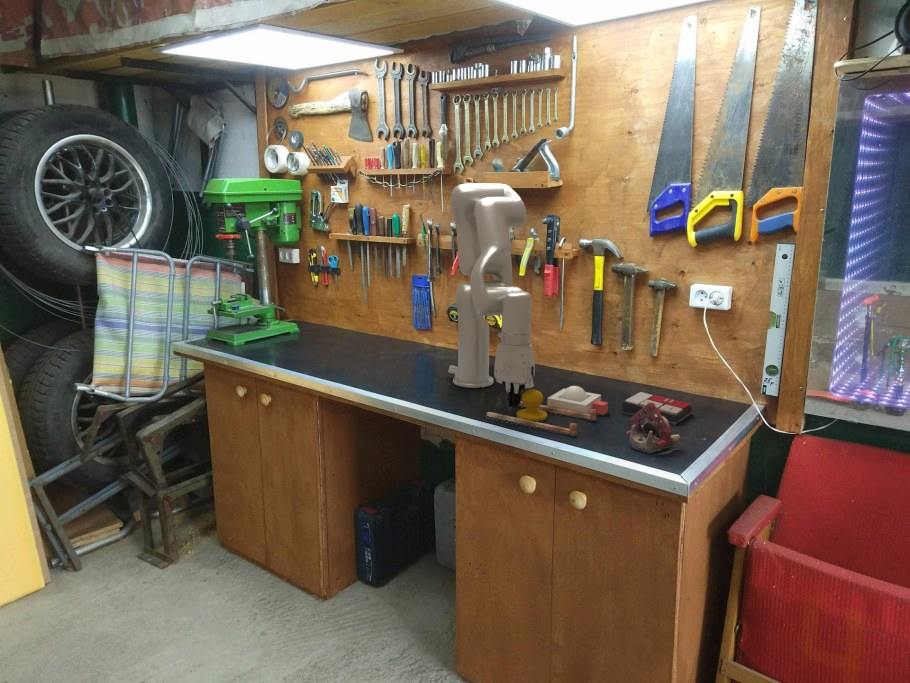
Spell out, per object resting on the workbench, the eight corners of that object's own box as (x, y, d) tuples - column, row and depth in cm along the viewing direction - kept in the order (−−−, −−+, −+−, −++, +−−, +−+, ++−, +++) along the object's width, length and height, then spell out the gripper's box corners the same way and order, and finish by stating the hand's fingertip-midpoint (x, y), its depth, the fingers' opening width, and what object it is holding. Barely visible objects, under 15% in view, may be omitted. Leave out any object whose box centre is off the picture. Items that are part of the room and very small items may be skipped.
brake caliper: (611, 436, 157) (634, 392, 159) (633, 454, 163) (655, 412, 165) (651, 451, 148) (674, 404, 150) (672, 470, 154) (695, 425, 156)
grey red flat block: (677, 413, 170) (622, 398, 179) (675, 429, 172) (620, 413, 180) (692, 403, 179) (639, 389, 188) (690, 418, 180) (638, 404, 189)
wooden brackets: (486, 418, 176) (486, 407, 175) (512, 403, 187) (512, 393, 187) (574, 437, 162) (575, 425, 162) (596, 420, 174) (597, 409, 174)
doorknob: (553, 418, 175) (530, 424, 171) (533, 410, 182) (510, 416, 177) (554, 391, 174) (531, 396, 169) (533, 384, 180) (511, 389, 176)
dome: (558, 409, 183) (559, 387, 181) (567, 403, 188) (568, 381, 187) (580, 414, 179) (581, 391, 178) (589, 407, 185) (590, 385, 183)
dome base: (547, 410, 182) (547, 398, 181) (563, 400, 191) (564, 388, 190) (597, 420, 174) (598, 407, 174) (612, 409, 183) (613, 397, 183)
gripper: (483, 337, 176) (482, 404, 180) (535, 345, 167) (532, 415, 172) (498, 332, 182) (496, 397, 186) (548, 340, 174) (545, 407, 178)
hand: (514, 405), depth 179 cm, fingers closed
